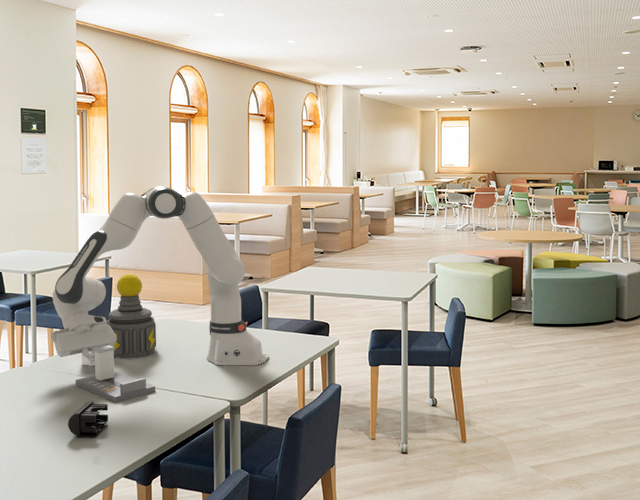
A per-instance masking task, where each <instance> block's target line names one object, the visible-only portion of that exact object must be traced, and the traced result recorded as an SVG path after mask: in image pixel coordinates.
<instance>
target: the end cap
mask: <svg viewBox="0 0 640 500" xmlns="http://www.w3.org/2000/svg"><path fill="white" fill-rule="evenodd" d="M108 405H109V404H108V403H106V404H105V403H104V404H103V403H100V404H99V403H95V402H94V400H89V401H88V402H86V403H84V404H83V405H82V406H81V407H80V408H79V409H78V410H76V411H75V412H74V413H73V414H72V415H71V416H70V417H69V419H68V422H67V427H68V430H69V432H70V433H72V434H73V435H75V436H76V437H77V438H79V439H96V438H98V437H99V436H100V434H102V433H103V431H105V429H106V428H107V427H108V426H109V424H108V421H109V415H108V414H101V413H100V411H108V409H109V408H108V407H109V406H108Z"/></svg>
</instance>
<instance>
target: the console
mask: <svg viewBox="0 0 640 500" xmlns="http://www.w3.org/2000/svg"><path fill="white" fill-rule="evenodd" d="M75 385H76V386H78V387H80V388H83V389H85V390H86V391H89V392H92V393H94V394H96V395H98V396H100V397H103V398H105V399H107V400H110V401H112V402H114V403H118V402H121V401H122V402H123V401H126V400H129V399H131V398H136V397H140V396H143V395H147V394H150V393H154V392H156V386H155V385H153V384H150V383H148V382H147V379H146V378H145V377H140V378H135V377H132V376H129V375H127V374H125V373H122V372H120V371H117V370H114V377H113V378H109V379H105V380H98V379H96V377H95V374H94V375H90V376H86V377H82V378H77V379H75Z"/></svg>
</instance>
